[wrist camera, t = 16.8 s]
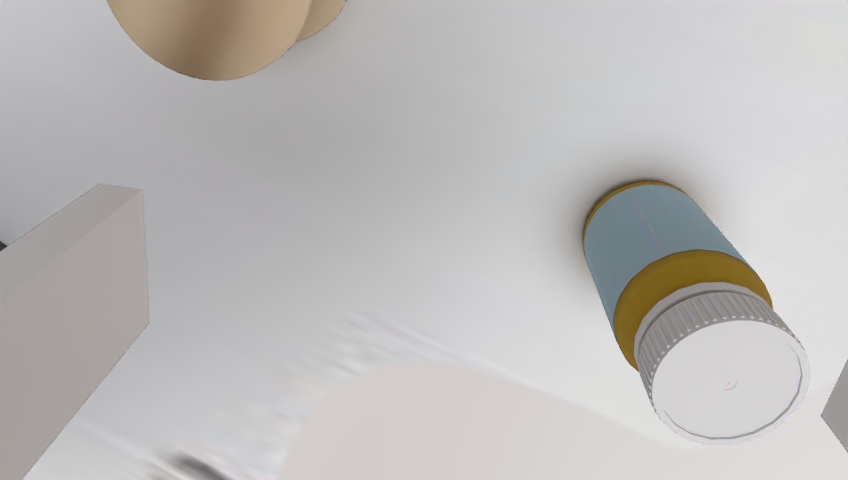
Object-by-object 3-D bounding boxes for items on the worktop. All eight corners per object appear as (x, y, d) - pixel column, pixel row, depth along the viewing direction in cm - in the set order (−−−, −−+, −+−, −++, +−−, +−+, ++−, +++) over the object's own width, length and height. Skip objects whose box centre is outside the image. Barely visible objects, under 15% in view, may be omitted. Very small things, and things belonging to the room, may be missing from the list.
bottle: (610, 301, 42) (679, 476, 29) (561, 212, 40) (611, 356, 26) (717, 252, 40) (846, 414, 27) (672, 156, 38) (788, 279, 24)
